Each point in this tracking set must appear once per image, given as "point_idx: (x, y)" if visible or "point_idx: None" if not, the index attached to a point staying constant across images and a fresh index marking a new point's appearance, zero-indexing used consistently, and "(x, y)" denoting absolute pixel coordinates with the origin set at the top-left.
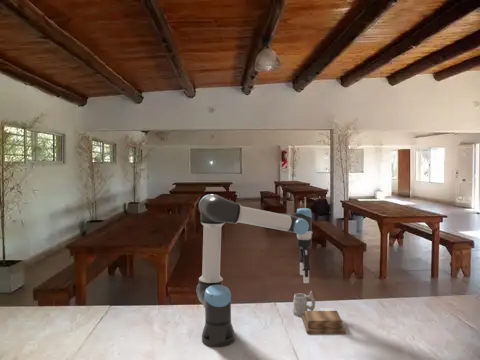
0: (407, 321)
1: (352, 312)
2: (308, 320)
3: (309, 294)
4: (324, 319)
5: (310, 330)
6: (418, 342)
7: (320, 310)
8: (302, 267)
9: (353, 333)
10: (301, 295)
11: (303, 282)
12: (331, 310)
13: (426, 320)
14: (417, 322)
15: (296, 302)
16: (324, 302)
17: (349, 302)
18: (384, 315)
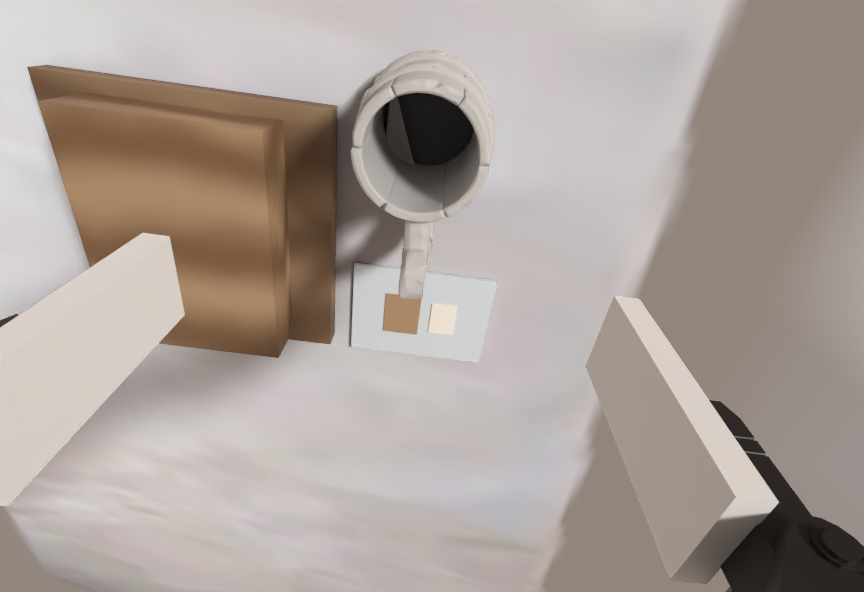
0: (293, 546)
1: (407, 421)
2: (44, 105)
3: (404, 258)
4: (102, 238)
5: (40, 97)
6: (100, 507)
7: (454, 279)
8: (652, 433)
9: None
10: (469, 181)
11: (166, 237)
12: (443, 339)
13: (304, 586)
14: (285, 564)
15: (374, 87)
16: (594, 343)
17: (547, 452)
18: (357, 511)
